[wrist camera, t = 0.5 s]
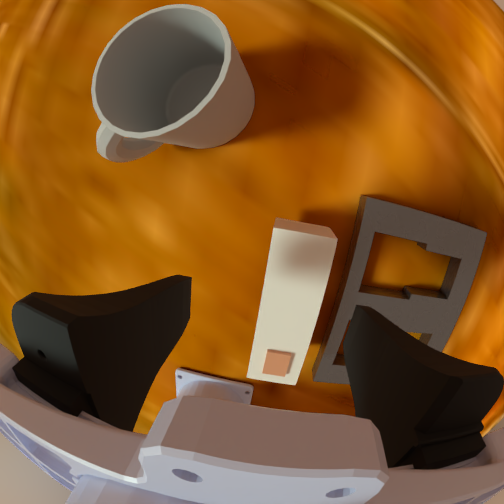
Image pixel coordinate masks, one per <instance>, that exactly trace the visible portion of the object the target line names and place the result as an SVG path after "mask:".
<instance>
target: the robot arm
mask: <svg viewBox="0 0 504 504" xmlns="http://www.w3.org/2000/svg"><path fill="white" fill-rule="evenodd" d="M191 280H192V277H187V276H182V275H174V276H170V277H167V278H164V279H161V280H158V281H155V282H152V283H149V284H145V285H142V286H138V287H135V288H131V289H128V290H123V291H119V292H113V293H107V294H97V295H85V296H68V295H54V294H46V293H38V292H33V293H31V294H29V295H28V296H26V297H24V298H23V299H21V300H19V301H18V302H16V303H15V304H14V306H13V309H12V322H13V326H14V329H15V332H16V335H17V338H18V341H19V344H20V347H21V349H22V352H23V354H24V356H25V357H24V358H22V359H21V360H20V361H19V360H18V358H17V357H16V356H15V355H14V354H13V353H12V352H11V351H9V350H8V349H7V348H6V347H4V346H3V345H2V344H0V432H1V433H2V434H3V435H4V436H5V437H6V438H7V439H8V440H9V441H10V442H11V443H12V444H13V445H14V446H15V447H16V448H17V449H19V450H20V451H21V452H22V453H23V454H24V455H25V456H26V457H27V458H29V459H30V460H31V461H32V462H33V463H34V464H36V465H37V466H38V467H39V468H40V469H42V470H43V471H44V472H45V473H47V474H48V475H49V476H51V477H52V478H53V479H55V480H56V481H57V482H59V483H60V484H62V485H63V486H64V487H66V488H67V489H69V490H70V491H72V492H71V494H70V496H69V497H68V499H67V501H66V502H65V504H484V503H485V502H487V501H488V500H489V499H491V498H492V497H493V496H495V495H496V494H497V493H499V492H500V491H501V490H502V489H504V428H501V429H498V430H496V431H493V432H490V433H489V434H487V435H485V436H484V437H483V438H482V436H481V434H480V431H482V430H483V428H484V426H483V424H482V422H481V420H482V419H483V418H484V417H485V416H486V414H487V413H488V412H489V410H490V409H491V408H492V406H493V405H494V404H495V402H496V401H497V399H498V398H499V396H500V394H501V392H502V389H503V385H504V379H503V376H502V375H501V374H500V373H499V371H498V370H497V369H496V368H494V367H488V366H483V365H478V364H474V363H470V362H467V361H463V360H460V359H457V358H454V357H452V356H449V355H447V354H444V353H442V352H440V351H438V350H435V349H433V348H431V347H430V346H428V345H426V344H424V343H422V342H421V341H419V340H417V339H416V338H414V337H413V336H411V335H410V334H408V333H407V332H405V331H404V330H402V329H401V328H399V327H398V326H397V325H395V324H394V323H393V322H391V321H390V320H389V319H387V318H386V317H384V316H383V315H382V314H380V313H379V312H378V311H376V310H375V309H373V308H371V307H369V306H362V305H356V307H355V310H354V313H353V316H352V319H351V322H350V325H349V328H348V331H347V333H346V336H345V339H344V342H343V349H344V360H345V365H346V369H347V374H348V378H349V382H350V386H351V390H352V395H353V399H354V405H355V414H356V417H354V416H349V415H344V414H324V413H310V412H299V411H290V410H281V409H274V408H267V407H260V406H254V405H250V402H251V398H252V394H253V389H254V387H253V386H252V385H251V384H246V383H241V382H236V381H231V380H226V379H222V378H217V377H213V376H209V375H205V374H201V373H197V372H193V371H189V370H186V369H182V368H178V369H177V370H176V372H175V373H176V392H177V398H175V399H173V400H170V401H167V402H165V403H164V404H163V406H162V408H161V410H160V412H159V414H158V416H157V417H156V419H155V421H154V423H153V425H152V427H151V429H150V431H149V433H148V435H146V434H140V433H135V432H133V429H134V426H135V423H136V421H137V418H138V415H139V413H140V410H141V408H142V405H143V403H144V401H145V398H146V396H147V394H148V391H149V389H150V387H151V385H152V383H153V381H154V379H155V377H156V375H157V373H158V371H159V370H160V368H161V366H162V365H163V363H164V362H165V360H166V359H167V357H168V356H169V354H170V353H171V351H172V350H173V348H174V347H175V345H176V344H177V342H178V340H179V339H180V337H181V336H182V334H183V332H184V330H185V328H186V326H187V323H188V321H189V319H190V303H191ZM247 391H249V392H247Z"/></svg>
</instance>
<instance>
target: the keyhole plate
mask: <svg viewBox="0 0 504 504" xmlns="http://www.w3.org/2000/svg"><path fill="white" fill-rule="evenodd" d="M375 232H379V233H383V234H388V235H392V236H397V237H401V238H405V239H409V240H414V241H418V243H417V245H419V246H420V247H422V248H423V249H425V250H427V251H431V252H435V253H439V254H443V255H448V256H451V259H450V262H449V265H448V269H447V272H446V275H445V278H444V281H443V283H442V286H441V289H440V292H439V291H433V290H426V289H420V288H414V287H408V286H404V289H403V291H397V290H391V289H385V288H378V287H372V286H366V285H361V281H362V278H363V275H364V271H365V268H366V264H367V260H368V257H369V253H370V249H371V245H372V241H373V237H374V233H375ZM486 236H487V233H486V232H484V231H482V230H479V229H477V228H474V227H471V226H468V225H465V224H463V223H460V222H457V221H454V220H450V219H447V218H444V217H441V216H438V215H435V214H431V213H428V212H425V211H421V210H418V209H414V208H411V207H407V206H403V205H400V204H396V203H392V202H388V201H384V200H380V199H376V198H372V197H368V196H364V195H361V197H360V202H359V207H358V212H357V217H356V221H355V226H354V231H353V235H352V239H351V244H350V248H349V252H348V256H347V260H346V264H345V268H344V271H343V275H342V279H341V282H340V286H339V290H338V293H337V296H336V300H335V303H334V307H333V310H332V313H331V316H330V319H329V323H328V326H327V329H326V332H325V335H324V338H323V341H322V344H321V347H320V350H319V352H318V355H317V358H316V361H315V363H314V366H313V369H312V373H313V381H317V382H327V383H339V384H350V382H349V378H348V374H347V369H346V365H345V360H344V355H340V354H337V351H338V349H339V346H340V344H341V341H342V338H343V336H344V333H345V330H346V327H347V324H348V322H349V320H351V319H352V316H353V313H354V310H355V307H356V305H362V306H369V307H371V308H373V309H375V310H376V311H378V312H379V313H380V314H382V315H383V316H384V317H386V318H387V319H389V320H390V321H391V322H393V323H394V324H395V325H397V326H398V327H399V328H401V329H402V330H404V331H405V332H416V333H422V335H421V337H420V339H419V341H421V342H422V343H424V344H426V345H428V346H430V347H431V348H433V349H435V350H438V351H440V352H442V350H443V348H444V346H445V345H446V343H447V341H448V339H449V337H450V334H451V332H452V330H453V328H454V326H455V324H456V322H457V319H458V317H459V315H460V313H461V310H462V308H463V306H464V303H465V301H466V298H467V295H468V293H469V290H470V288H471V285H472V282H473V279H474V276H475V273H476V270H477V267H478V264H479V261H480V258H481V254H482V251H483V247H484V243H485V240H486Z"/></svg>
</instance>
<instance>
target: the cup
mask: <svg viewBox="0 0 504 504" xmlns="http://www.w3.org/2000/svg"><path fill="white" fill-rule="evenodd" d="M91 92H92V99H93V106H94V108H95V111H96V113H97V115H98V117H99V119H100V120H101V121H102V124H101V125H100V127H99V129H98V131H97V136H96V143H97V151H98V152H99V153H100V154H101V156H102V157H104V158H106V159H108V160H111V161H114V162H128V161H132V160H136V159H138V158H141V157H143V156H145V155H147V154H149V153H151V152H153V151H154V150H156V149H157V148H158V147H160V146H161V145H162V144H163V143H169V144H175V145H180V146H185V147H191V148H196V149H202V148H213V147H216V146H219V145H223V144H225V143H227V142H228V141H230V140H232V139H233V138H235V137H236V136H237V135H238V134H239V133H240V132H241V131H242V130H243V129H244V128H245V127H246V125H247V123H248V122H249V120H250V118H251V116H252V113H253V109H254V106H255V93H254V89H253V86H252V83H251V79H250V77H249V75H248V73H247V70H246V68H245V66H244V64H243V62H242V60H241V57H240V55H239V53H238V51H237V49H236V47H235V45H234V43H233V41H232V39H231V37H230V35H229V33H228V30H227V28H226V27H225V25H224V24H223V23H222V22H221V21H220V20H219V18H218V17H217V16H216V15H215V14H213V13H211V12H209V11H208V10H206V9H204V8H202V7H198V6H193V5H188V4H177V5H167V6H163V7H159V8H156V9H153V10H150V11H148V12H146V13H144V14H142V15H140V16H138V17H136V18H135V19H133V20H132V21H131V22H129V23H128V24H127V25H125V26H124V27H123V28H122V29H120V30H119V31H118V33H117V34H116V35H115V36H114V37H113V38H112V39H111V41H110V42H109V43H108V44H107V46H106V47H105V49H104V51H103V52H102V54H101V56H100V58H99V60H98V62H97V65H96V68H95V71H94V74H93V80H92V90H91ZM124 137H130V138H124Z"/></svg>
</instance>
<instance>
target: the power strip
mask: <svg viewBox="0 0 504 504" xmlns="http://www.w3.org/2000/svg"><path fill="white" fill-rule="evenodd" d="M337 241H338V239H337V237H336V236H335V234H334V233H333V232H332V230H331V229H330V227H325V226H320V225H315V224H310V223H304V222H299V221H293V220H287V219H282V218H276V220H275V224H274V228H273V234H272V240H271V246H270V252H269V257H268V263H267V269H266V275H265V281H264V286H263V292H262V298H261V303H260V309H259V314H258V320H257V325H256V331H255V336H254V341H253V347H252V352H251V357H250V363H249V368H248V373H247V378H252V379H257V380H263V381H269V382H275V383H282V384H289V385H296V383H297V380H298V377H299V374H300V371H301V368H302V365H303V362H304V359H305V356H306V353H307V350H308V347H309V344H310V341H311V338H312V334H313V331H314V328H315V325H316V321H317V318H318V315H319V311H320V308H321V304H322V300H323V297H324V293H325V289H326V286H327V282H328V278H329V274H330V270H331V266H332V262H333V258H334V254H335V250H336V245H337Z"/></svg>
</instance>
